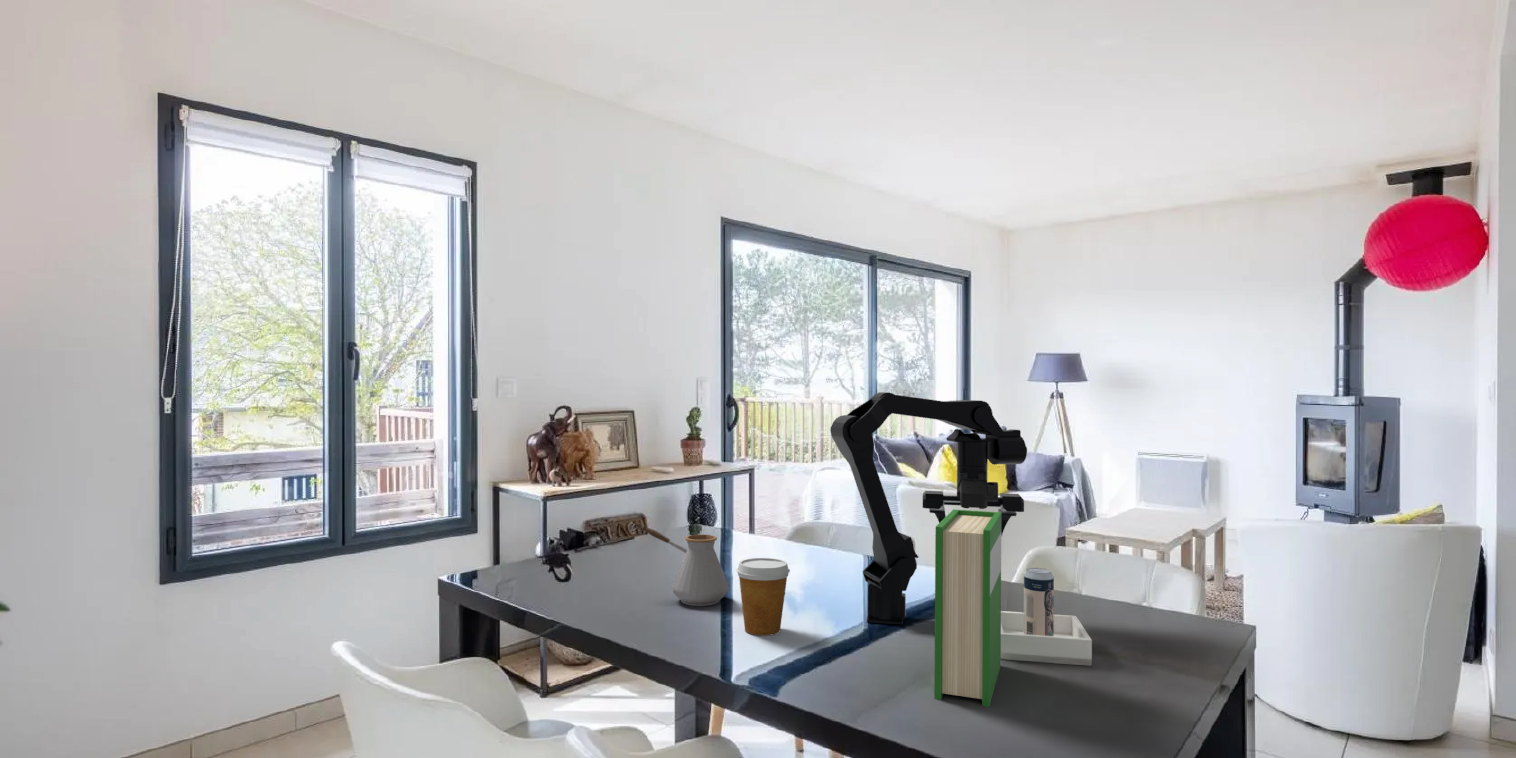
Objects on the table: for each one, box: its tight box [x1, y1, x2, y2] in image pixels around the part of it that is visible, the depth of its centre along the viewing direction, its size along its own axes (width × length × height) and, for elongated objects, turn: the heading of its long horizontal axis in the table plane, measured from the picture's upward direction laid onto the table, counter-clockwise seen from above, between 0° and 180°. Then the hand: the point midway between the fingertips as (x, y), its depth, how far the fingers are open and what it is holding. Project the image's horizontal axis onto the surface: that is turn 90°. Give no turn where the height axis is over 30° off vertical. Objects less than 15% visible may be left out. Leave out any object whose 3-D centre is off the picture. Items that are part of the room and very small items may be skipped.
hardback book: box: [933, 508, 1002, 708], centre depth 120 cm, size 18×7×24 cm, turn 158°
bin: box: [1001, 610, 1093, 667], centre depth 135 cm, size 14×14×4 cm
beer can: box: [1023, 567, 1055, 636], centre depth 135 cm, size 5×5×12 cm
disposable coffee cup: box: [736, 557, 791, 636], centre depth 144 cm, size 10×10×12 cm
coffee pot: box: [630, 521, 730, 607], centre depth 165 cm, size 21×12×15 cm, turn 70°
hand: (971, 545), depth 156 cm, fingers open, 9 cm apart
